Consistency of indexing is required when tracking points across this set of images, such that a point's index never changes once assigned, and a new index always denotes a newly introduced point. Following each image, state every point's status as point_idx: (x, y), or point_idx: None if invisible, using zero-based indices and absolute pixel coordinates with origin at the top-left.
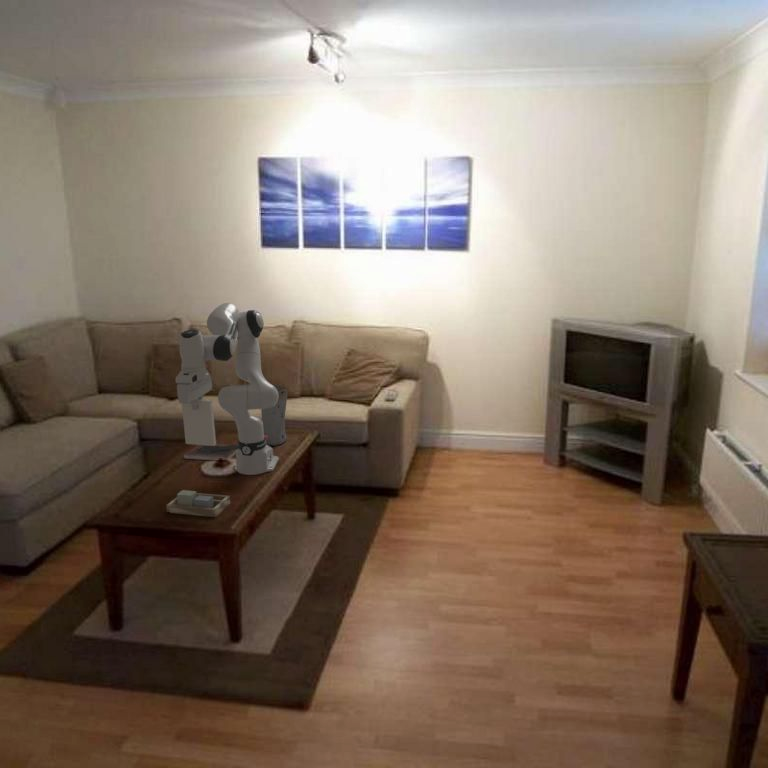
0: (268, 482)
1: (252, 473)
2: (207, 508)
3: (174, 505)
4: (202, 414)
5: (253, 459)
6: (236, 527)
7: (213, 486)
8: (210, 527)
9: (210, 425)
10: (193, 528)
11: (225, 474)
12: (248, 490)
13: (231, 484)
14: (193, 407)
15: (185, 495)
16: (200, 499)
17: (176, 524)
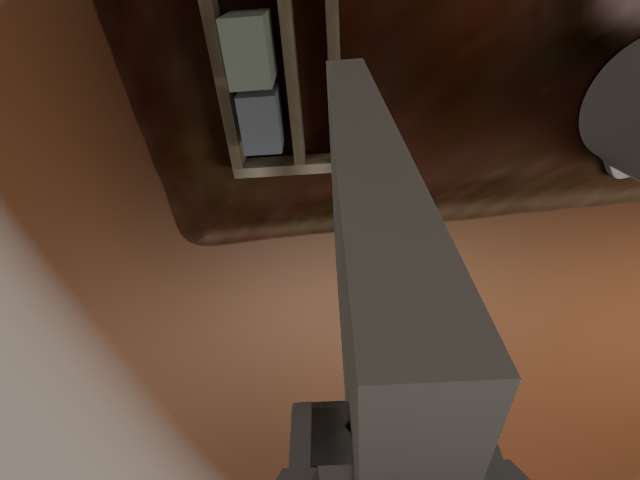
0: (509, 201)
1: (582, 127)
2: (234, 150)
3: (204, 9)
4: (346, 393)
5: (628, 148)
6: (210, 245)
7: (470, 22)
8: (179, 185)
9: (342, 350)
10: (149, 143)
11: (602, 3)
12: (442, 170)
13: (491, 87)
14: (292, 444)
15: (224, 64)
16: (244, 123)
17: (142, 72)
